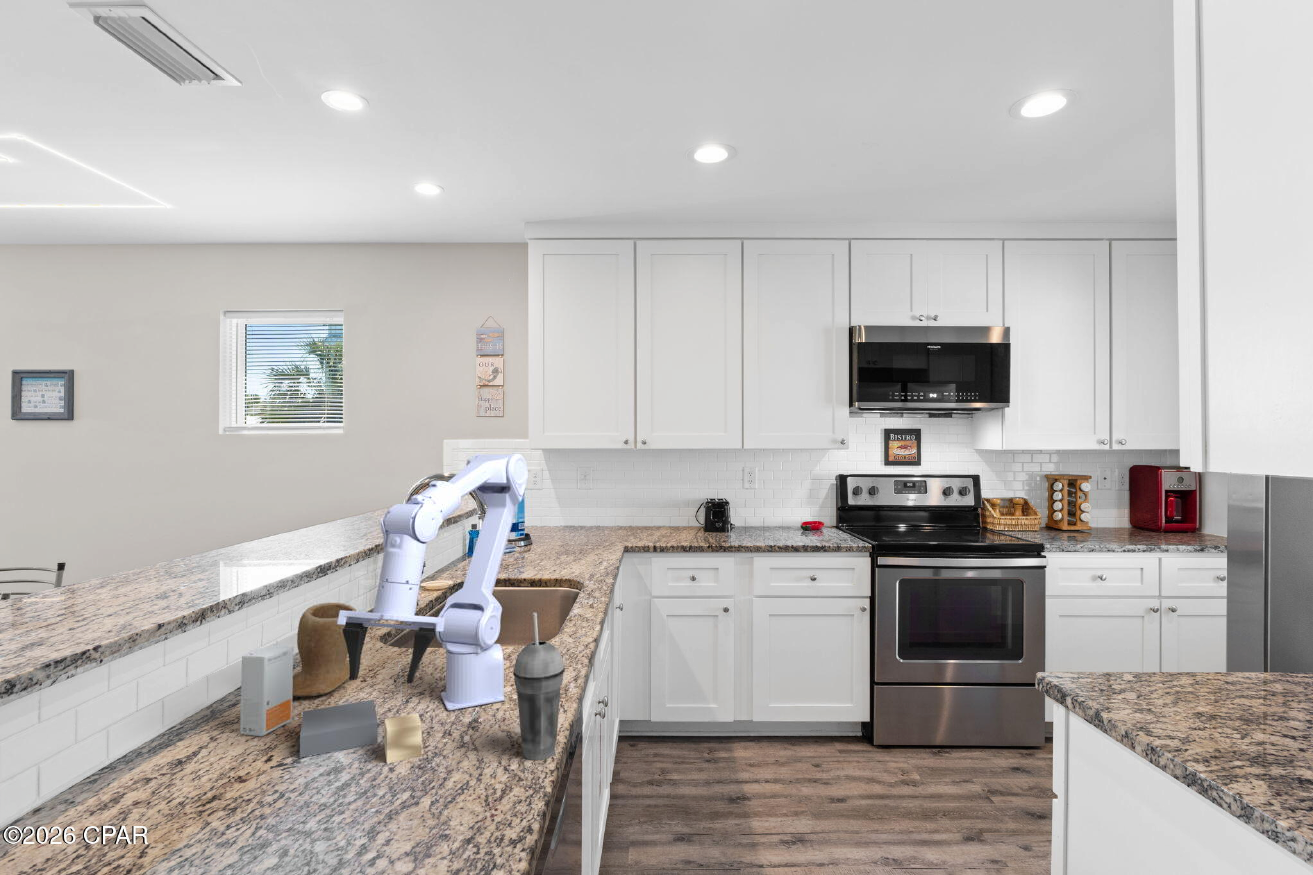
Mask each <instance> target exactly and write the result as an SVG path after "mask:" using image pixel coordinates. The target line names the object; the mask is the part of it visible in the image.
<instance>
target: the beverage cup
mask: <svg viewBox="0 0 1313 875" xmlns="http://www.w3.org/2000/svg"><path fill="white" fill-rule="evenodd" d="M537 617H538V614H537V612H532V618H533V631H534V632H533V635H534V641H533V642H531V643H527V645H525V646H524V647H523V648H522V649H521V650H520V651H519V653H518V655H517V656H516V659H515V663H514V668H513V672H512V675H513V677H514V678H513V680H514V684H515V688H516V693H517V705H518V716H519V717H518V718H519V730H520V741H521V746H522V749H521V750H522V756H523V757H524V758H525V759H526V760H530V761H541V760H547V759H549V758H551V757H553V756H554V755H555V754H556V745H557V738H558V737H557V736H558V728H559V714H560V713H559V712H560V703H561V702H560V700H561V688H562V685H563V680H564V673H565V665H564V659H563V657H562V656H563V655H562V654H561V652H560V650H559V649H558V648H557V647H556V646H555V645H553V644H552V643H551V642H548V641H545V640H539V631H538V630H539V629H538V618H537Z"/></svg>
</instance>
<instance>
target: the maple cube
mask: <svg viewBox="0 0 1313 875" xmlns="http://www.w3.org/2000/svg"><path fill="white" fill-rule="evenodd" d="M422 725H423V724H422V721H421V719H420V716H419V713H411V714H406V715H405V714H404V715H400V716H399V715H398V716H395V717H394V716H393V717H390V718H389V717H388V718H385V719H384V755H385V759H386V764H391V763H392V764H393V763H397V762H401V761H407V760H410V759H415V758H420V757H422V756H423V755H422V752H423V751H422V749H423V748H422V745H423V744H422V742H423V741H422V738H423V736H422V733H423V732H422V730H423V729H422Z"/></svg>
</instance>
